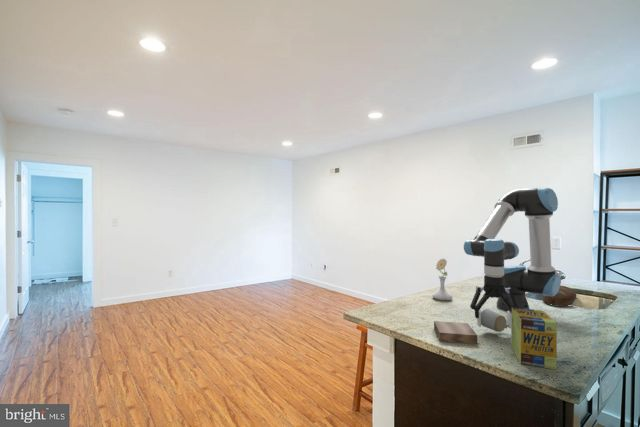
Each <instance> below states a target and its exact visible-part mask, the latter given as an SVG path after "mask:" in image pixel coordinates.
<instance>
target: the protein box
mask: <svg viewBox="0 0 640 427" xmlns="http://www.w3.org/2000/svg"><path fill="white" fill-rule="evenodd" d="M557 324H558V323H557V322H556V321H555V319H553V318H552V317H551V316H549V314H548V313H546V312H545V311H544V310H542V309H541V310H539V309H532V308H529V309H524V308H515V307H512V327H511V328H510V329H511V332H510V333H511V334H510V335H511V337H510V338H511V340H510V342H511V343H510V344H511V348H512V351H513V353H514V354H515V356H516V358H517V360H518V362H519V364H521V365H525V366H531V367H539V368H546V369H549V370H550V369H551V370H557V353H558V352H557V347H558V346H557V341H558V340H557V339H558V338H557V335H558V331H557V330H558V327H557V326H558V325H557Z"/></svg>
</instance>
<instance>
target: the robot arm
mask: <svg viewBox="0 0 640 427" xmlns="http://www.w3.org/2000/svg"><path fill="white" fill-rule="evenodd" d="M558 206H559V201H558V196H557V194H556V192H555V191H554V189H553V188H550V187H533V188H517V189H514V190H511V191H509V192H507V193H505V194H504V195H503V196H501V197H500V198H499V199H498V200H497V202H495V204H494V209H493V211H492V212H491V213H490V215H489V217H488V218H487V220H486V221H485V222H484V224H483V225H482V226H481V228H480V230H479V231H478V232H477V233H476V236H475V237H474V238H473V239H467V240H465V241H464V244H463V250H464V254H466V255H468V256H474V257H481V258H482V257H483V261H484V262H483V267H484V268H483V269H484V270H483V274H484V276H483V277H484V278H483V286H478V285H477V286H476V287H475V293H474V295H473V298H472V300H471V302H470V304H469V307H470V308H471V309H472V310H474V317H475V318H476V322H477V323H476V324H477V325H478V327H482V325H481V312H482V311H481V308H482V307H483V306H484V304H486V302H487V300H489V299H491V298H493V299H494V298H496V299H497V301H496V308H498V309H500V310H502V311H506V313H507V314H506V315H507V316H506V318H507V319H506V321H507V324H506V325H508V327H507V328H509V329H511V327H512V307H515V308H524V309H530V305H529V302H528V300H527V297H526V293H530V294H534V295H535V294H536V295H538V296H539V295H540V296H542V295H543V296H555V295H556V294H557V292H558V291H559V288H560V286H561V285H562V284H561V283H562V278H561V275H560V274H559V273H556V268H555V267H554V266H552V245H551V227H550V225H551V224H550V222H551V220H550V219H551V217H552V216H554V212H556V211H557V210H558V208H559V207H558ZM517 212H524V216H525V217H526V218H527V219H528V232H529V233H528V235H529V252H530V253H529V255H530V256H529V257H530V264H529V266H527V267H526V266H523V265H505V261H507V260H513V259H515V258H516V257H518V255H519V253H520V249H519V247H518V245H517V244H516V243H515V242H513V241H504V240H503V239H500V238H497V235H498V234H499V232H500V231H501V230H502V228H503V226H504V225H505V223H506V222H507V221H508V219H509V218H510V217H512V216H513V215H514V214H515V213H517ZM483 291H484V294H483V295H482V296H481V293H482V292H483ZM480 296H481V298H480ZM479 298H480V300H479Z"/></svg>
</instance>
